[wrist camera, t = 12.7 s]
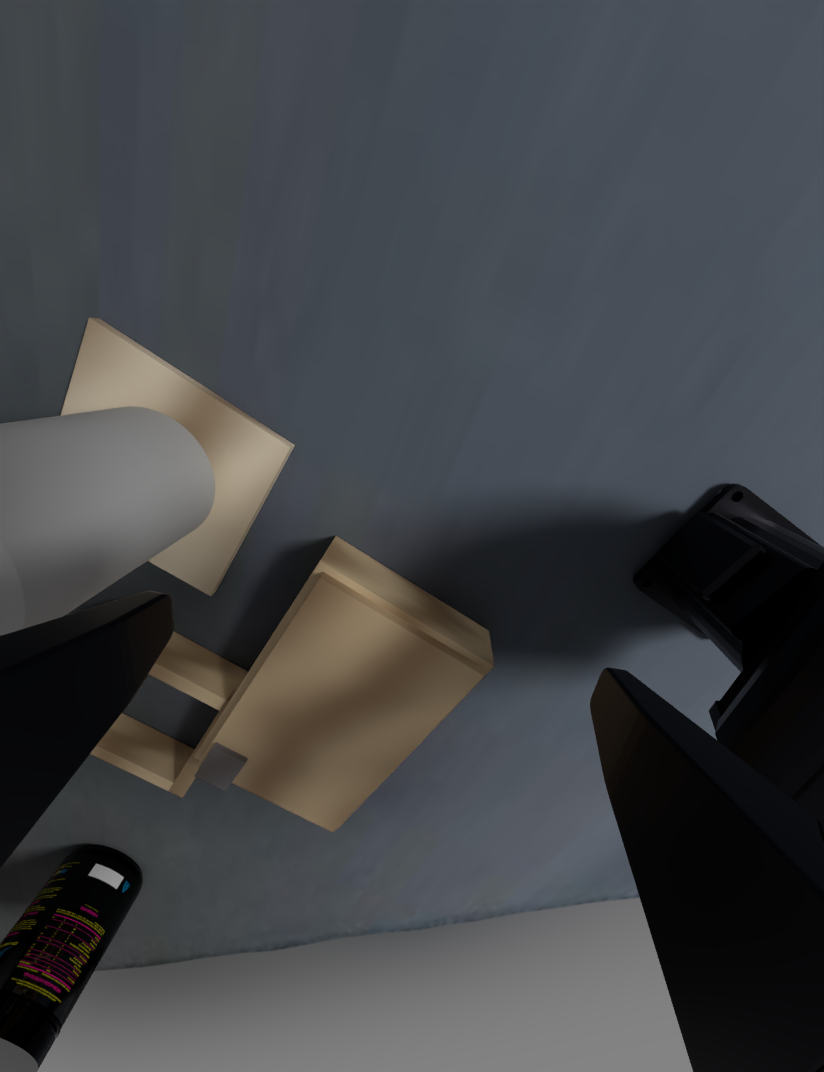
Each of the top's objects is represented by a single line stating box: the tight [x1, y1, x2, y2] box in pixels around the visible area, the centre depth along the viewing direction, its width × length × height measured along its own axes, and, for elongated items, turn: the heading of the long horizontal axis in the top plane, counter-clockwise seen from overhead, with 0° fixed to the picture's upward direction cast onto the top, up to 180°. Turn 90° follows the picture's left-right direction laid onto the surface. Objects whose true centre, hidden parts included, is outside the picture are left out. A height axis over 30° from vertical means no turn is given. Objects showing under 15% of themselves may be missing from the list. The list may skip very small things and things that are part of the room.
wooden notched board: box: [90, 536, 494, 832], centre depth 24 cm, size 19×21×4 cm
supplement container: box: [0, 846, 143, 1072], centre depth 31 cm, size 7×7×10 cm
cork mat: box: [61, 318, 295, 596], centre depth 21 cm, size 10×10×1 cm
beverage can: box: [0, 406, 215, 636], centre depth 15 cm, size 6×6×12 cm
